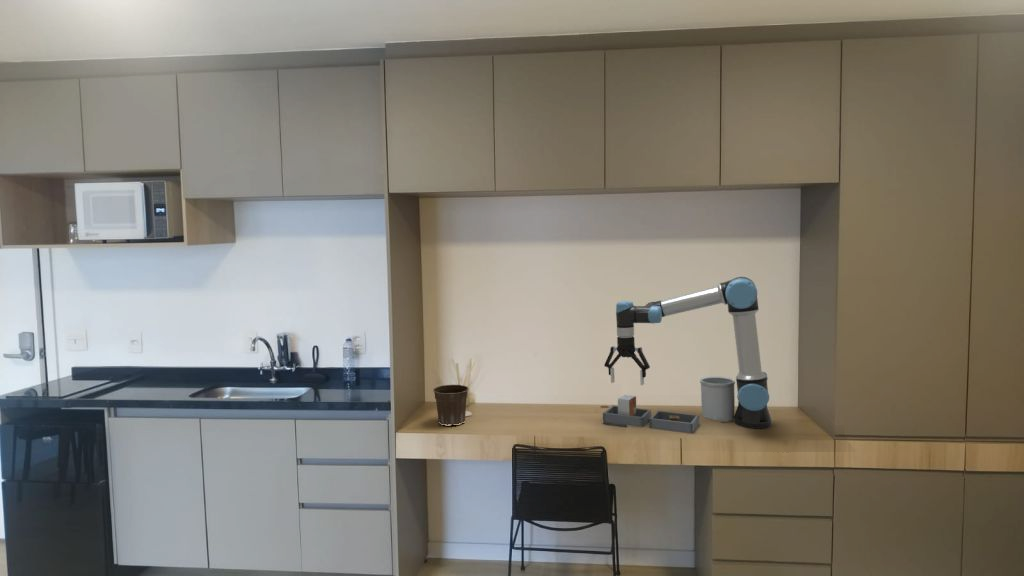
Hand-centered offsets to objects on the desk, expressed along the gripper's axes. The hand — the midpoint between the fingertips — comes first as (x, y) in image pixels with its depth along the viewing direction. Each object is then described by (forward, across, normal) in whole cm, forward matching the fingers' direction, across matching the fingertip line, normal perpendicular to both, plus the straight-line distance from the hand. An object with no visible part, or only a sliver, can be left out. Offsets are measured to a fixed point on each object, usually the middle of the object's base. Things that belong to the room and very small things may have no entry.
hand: (627, 383), depth 260 cm
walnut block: (+17, -20, 0) cm, 27 cm away
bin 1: (+18, +1, 0) cm, 18 cm away
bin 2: (+18, -20, 0) cm, 27 cm away
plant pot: (+17, +74, +32) cm, 82 cm away
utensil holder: (+19, -34, -22) cm, 45 cm away
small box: (+17, +1, 0) cm, 17 cm away
